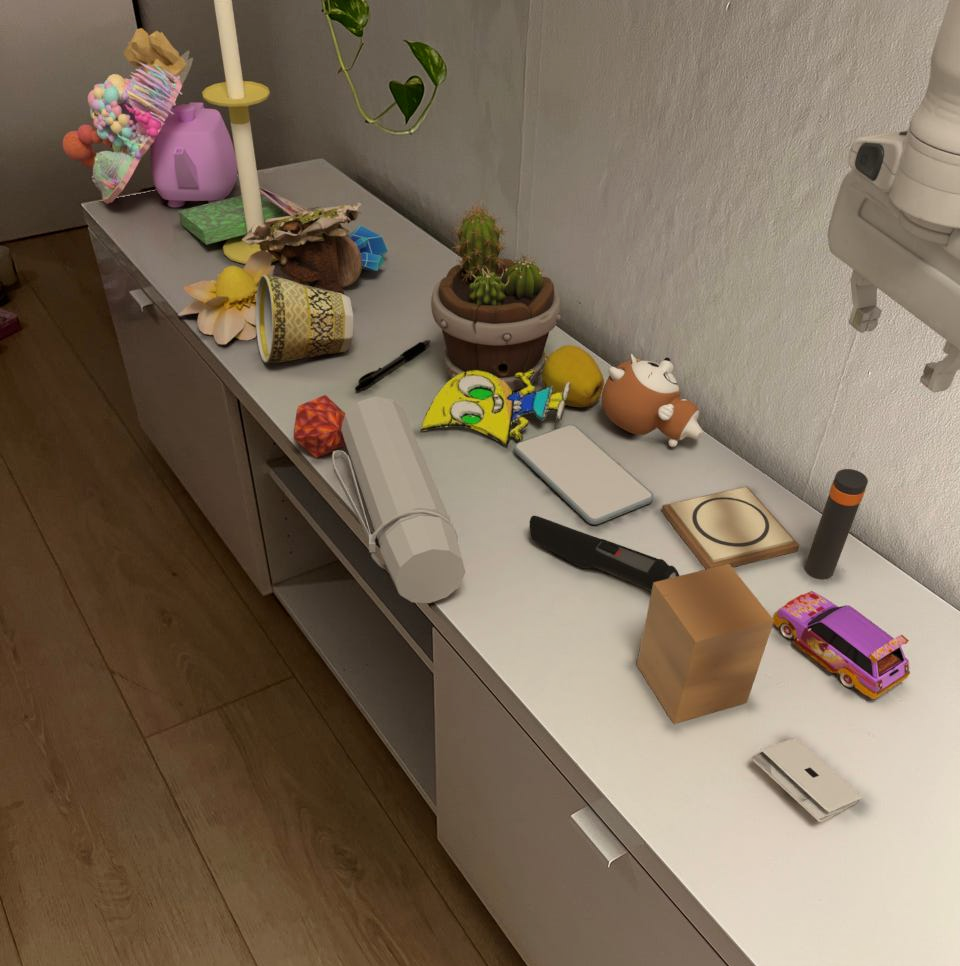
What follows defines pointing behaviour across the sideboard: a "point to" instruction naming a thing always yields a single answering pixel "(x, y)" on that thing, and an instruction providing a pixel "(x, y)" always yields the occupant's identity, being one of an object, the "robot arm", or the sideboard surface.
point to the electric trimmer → (600, 553)
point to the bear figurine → (306, 244)
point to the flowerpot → (493, 306)
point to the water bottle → (400, 502)
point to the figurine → (649, 401)
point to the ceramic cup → (300, 320)
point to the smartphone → (583, 474)
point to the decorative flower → (230, 300)
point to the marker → (835, 523)
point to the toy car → (845, 643)
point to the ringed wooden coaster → (729, 528)
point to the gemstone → (359, 254)
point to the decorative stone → (319, 426)
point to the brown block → (703, 642)
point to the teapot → (193, 156)
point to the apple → (573, 375)
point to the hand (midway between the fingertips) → (896, 356)
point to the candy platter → (129, 112)
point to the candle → (239, 127)
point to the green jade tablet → (223, 218)
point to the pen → (391, 365)
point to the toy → (491, 405)
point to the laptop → (806, 778)
